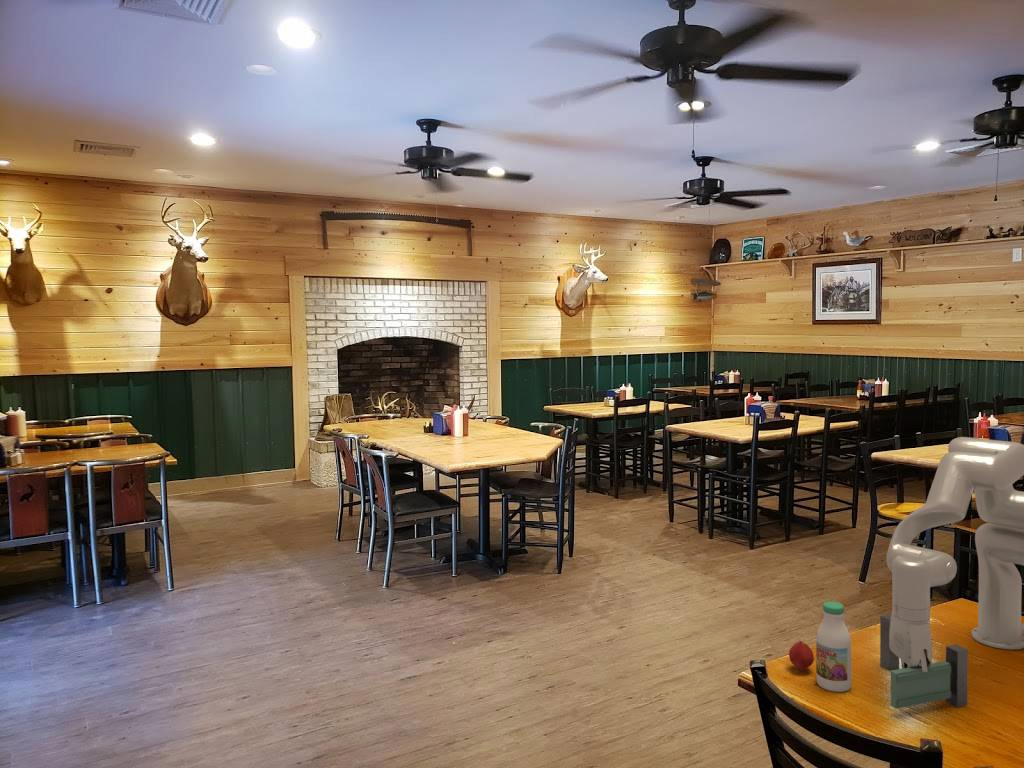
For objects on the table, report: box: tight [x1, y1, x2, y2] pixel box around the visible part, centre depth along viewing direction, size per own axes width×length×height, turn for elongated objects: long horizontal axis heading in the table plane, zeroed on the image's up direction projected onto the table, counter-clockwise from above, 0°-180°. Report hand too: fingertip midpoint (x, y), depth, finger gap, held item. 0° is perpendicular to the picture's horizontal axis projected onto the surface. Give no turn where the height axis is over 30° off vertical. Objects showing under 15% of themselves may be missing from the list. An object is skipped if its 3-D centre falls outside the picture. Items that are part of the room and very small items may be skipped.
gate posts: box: [879, 613, 969, 708], centre depth 175 cm, size 3×22×13 cm, turn 18°
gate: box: [890, 660, 951, 710], centre depth 164 cm, size 14×2×8 cm, turn 104°
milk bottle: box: [815, 601, 852, 693], centre depth 176 cm, size 8×8×20 cm
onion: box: [788, 639, 815, 672], centre depth 185 cm, size 6×6×8 cm
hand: (911, 688), depth 168 cm, fingers closed
